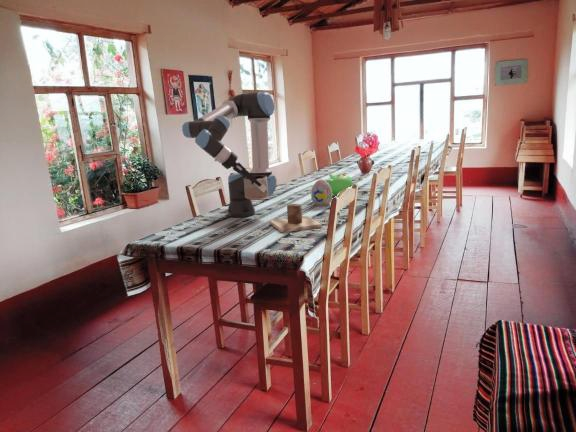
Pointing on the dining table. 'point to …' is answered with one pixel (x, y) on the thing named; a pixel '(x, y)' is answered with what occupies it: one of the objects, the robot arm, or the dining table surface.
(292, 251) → the dining table surface
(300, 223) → the square base plate
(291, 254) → the dining table surface
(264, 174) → the robot arm
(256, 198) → the planter
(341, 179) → the toy bird
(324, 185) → the decorative egg
